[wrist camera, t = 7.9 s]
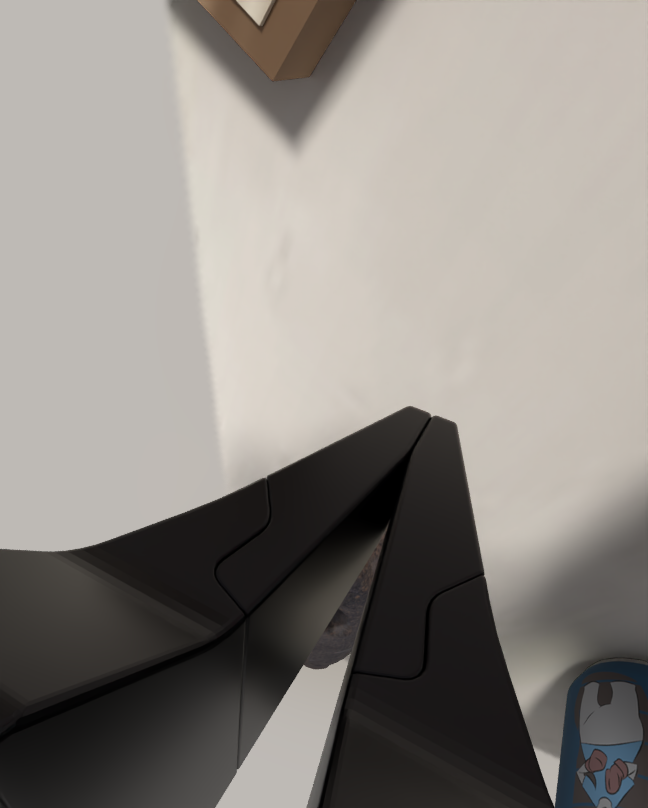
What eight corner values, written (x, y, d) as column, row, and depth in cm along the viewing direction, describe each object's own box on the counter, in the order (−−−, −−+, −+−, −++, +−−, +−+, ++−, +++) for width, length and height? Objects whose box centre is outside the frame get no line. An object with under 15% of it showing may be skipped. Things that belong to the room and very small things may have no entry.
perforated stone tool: (372, 628, 36) (327, 726, 31) (304, 590, 37) (250, 678, 32) (441, 479, 27) (393, 585, 22) (347, 435, 28) (281, 524, 23)
